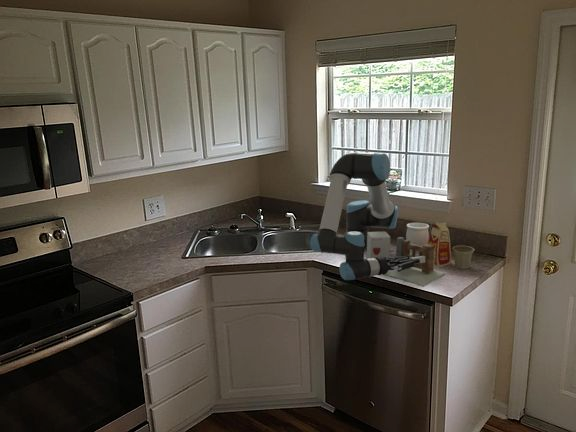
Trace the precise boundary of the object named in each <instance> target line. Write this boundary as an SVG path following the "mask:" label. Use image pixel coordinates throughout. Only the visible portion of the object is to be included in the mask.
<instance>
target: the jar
mask: <svg viewBox="0 0 576 432" xmlns="http://www.w3.org/2000/svg"><path fill="white" fill-rule="evenodd" d="M429 228H430V225H429V224H428V223H424V222H410V223H407V224H406V235H405V238H406V239H405V240H410V243H411V244H416V245H420V246H423V245H425V244H428V242H429V238H430V234H429ZM417 256H419V251H416V253H415V257H417ZM410 257H412V250H410Z"/></svg>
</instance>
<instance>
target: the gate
mask: <svg viewBox="0 0 576 432" xmlns="http://www.w3.org/2000/svg"><path fill="white" fill-rule="evenodd" d="M410 250H412V256H410ZM416 251H419V256H425V263H419V264H414V267H415V268H419V269H422V272H425V273H428V274H429V273H431V272H433V262H434V245H431V244H425V245H423V246H420V245H416V244H411V243H410V240H406V239H404V241H403V256H406V257H408V256H410V257H415V253H416Z"/></svg>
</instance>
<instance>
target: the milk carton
mask: <svg viewBox="0 0 576 432" xmlns="http://www.w3.org/2000/svg"><path fill="white" fill-rule="evenodd" d="M449 230H450V229H449V228H448V226H447V222H437V221H436V222H435V225H433V226H432V229H431V231H430V234H429V239H428V244H431V245H434V248H435V258H434V267H437V268H441V267H444V266H448V265H451V263H452V251H451V248H452V246H451V238H450V237H451V236H450V231H449Z"/></svg>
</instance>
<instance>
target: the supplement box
mask: <svg viewBox="0 0 576 432" xmlns="http://www.w3.org/2000/svg"><path fill="white" fill-rule="evenodd" d="M376 257H391V236H390V235H389V233H387V231H369V232H367V248H366V259H368V258H376Z"/></svg>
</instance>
